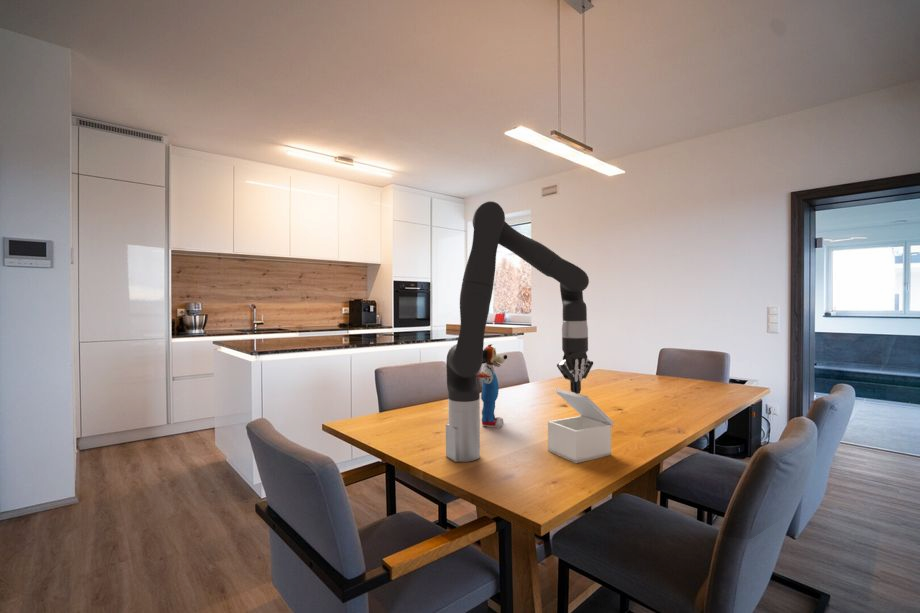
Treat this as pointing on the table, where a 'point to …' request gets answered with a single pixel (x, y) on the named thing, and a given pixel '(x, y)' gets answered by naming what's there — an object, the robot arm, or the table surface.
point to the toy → (490, 386)
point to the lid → (584, 406)
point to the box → (579, 438)
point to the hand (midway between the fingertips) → (575, 393)
